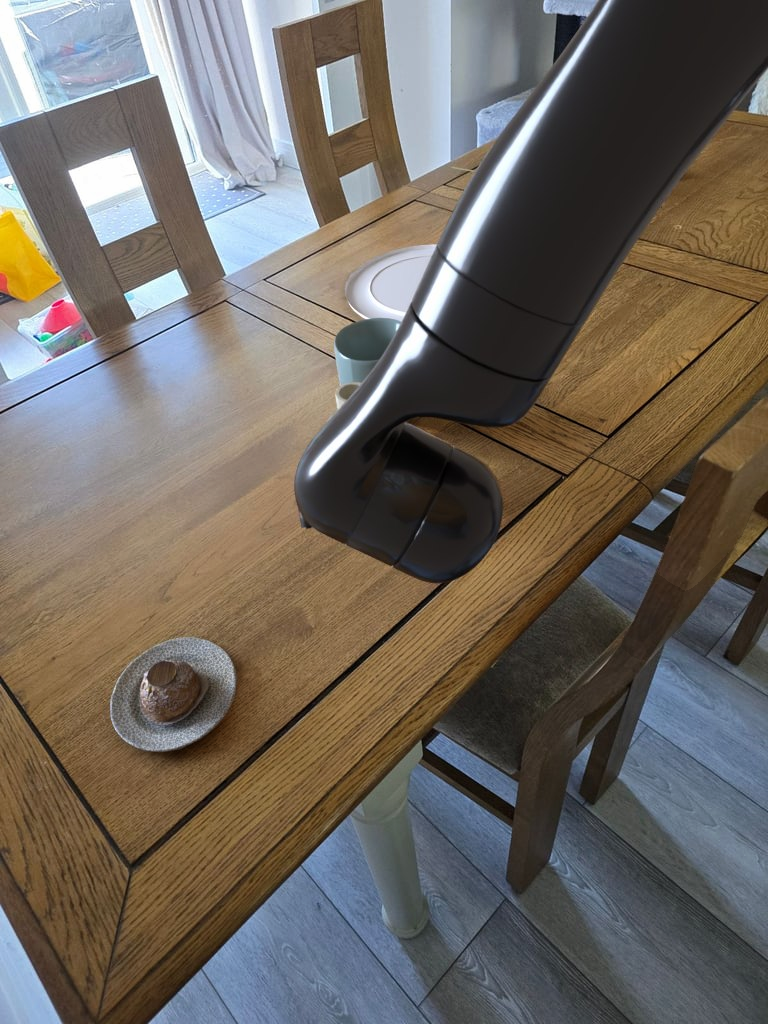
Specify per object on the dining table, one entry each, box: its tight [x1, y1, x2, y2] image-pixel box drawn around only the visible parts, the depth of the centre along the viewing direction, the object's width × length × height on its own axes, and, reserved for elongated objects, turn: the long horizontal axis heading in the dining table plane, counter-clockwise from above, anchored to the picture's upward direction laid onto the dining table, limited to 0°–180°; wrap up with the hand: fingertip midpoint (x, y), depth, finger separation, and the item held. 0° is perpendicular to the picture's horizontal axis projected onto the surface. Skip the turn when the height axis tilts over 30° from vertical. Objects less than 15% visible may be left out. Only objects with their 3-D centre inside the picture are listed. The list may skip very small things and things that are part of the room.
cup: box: [333, 318, 410, 423], centre depth 89 cm, size 10×10×13 cm
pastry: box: [110, 636, 238, 753], centre depth 65 cm, size 12×12×5 cm
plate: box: [344, 243, 438, 322], centre depth 117 cm, size 28×28×1 cm
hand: (374, 500), depth 68 cm, fingers open, 8 cm apart
